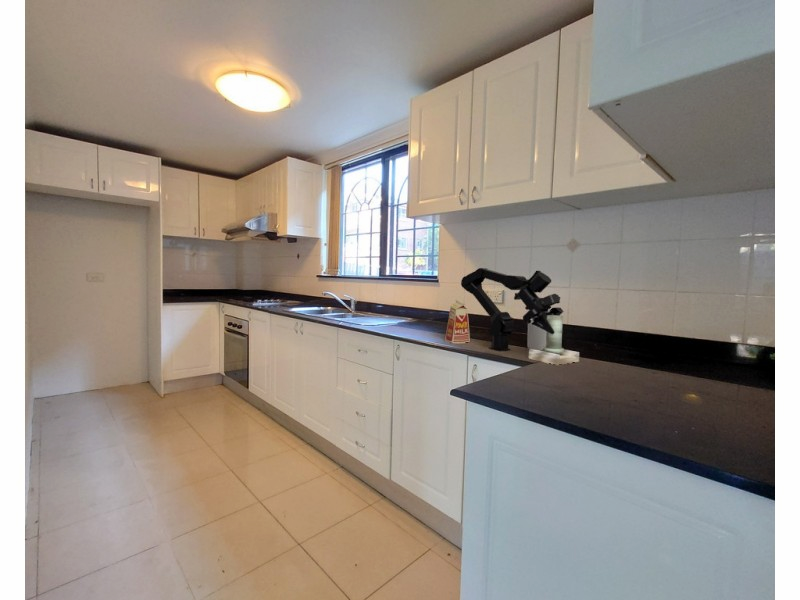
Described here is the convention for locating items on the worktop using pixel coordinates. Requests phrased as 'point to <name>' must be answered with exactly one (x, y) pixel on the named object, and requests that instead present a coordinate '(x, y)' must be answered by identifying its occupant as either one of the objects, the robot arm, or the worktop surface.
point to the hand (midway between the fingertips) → (557, 332)
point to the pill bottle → (536, 337)
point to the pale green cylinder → (554, 335)
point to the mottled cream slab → (554, 356)
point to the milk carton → (458, 324)
